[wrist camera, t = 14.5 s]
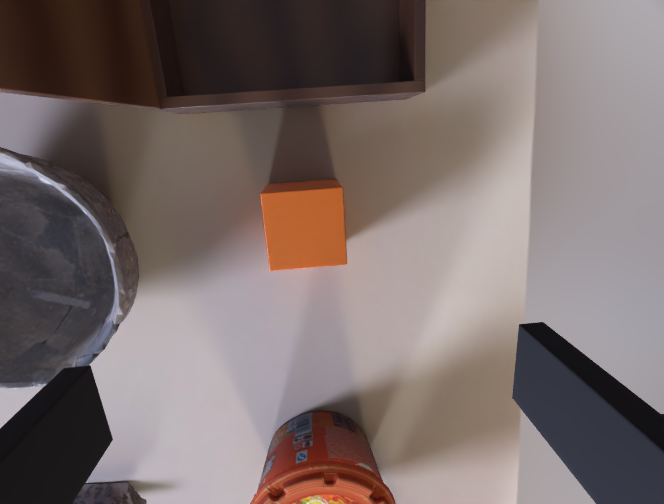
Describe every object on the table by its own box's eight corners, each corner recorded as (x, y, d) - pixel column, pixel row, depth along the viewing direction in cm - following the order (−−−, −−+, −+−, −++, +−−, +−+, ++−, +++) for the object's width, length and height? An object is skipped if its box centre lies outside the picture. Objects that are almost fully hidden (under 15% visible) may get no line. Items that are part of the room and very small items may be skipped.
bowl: (-93, 166, 35) (-240, 176, 26) (120, 115, 35) (53, 106, 26) (12, 352, 41) (-75, 417, 32) (194, 309, 41) (161, 360, 32)
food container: (239, 482, 49) (222, 573, 39) (281, 383, 45) (274, 455, 35) (351, 509, 52) (363, 601, 41) (399, 418, 48) (425, 494, 37)
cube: (335, 178, 38) (342, 186, 32) (340, 243, 40) (347, 264, 34) (267, 183, 38) (260, 193, 31) (275, 249, 40) (269, 271, 33)
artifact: (35, 487, 47) (22, 505, 44) (148, 478, 48) (140, 495, 45) (43, 509, 48) (30, 528, 46) (153, 500, 49) (145, 518, 46)
